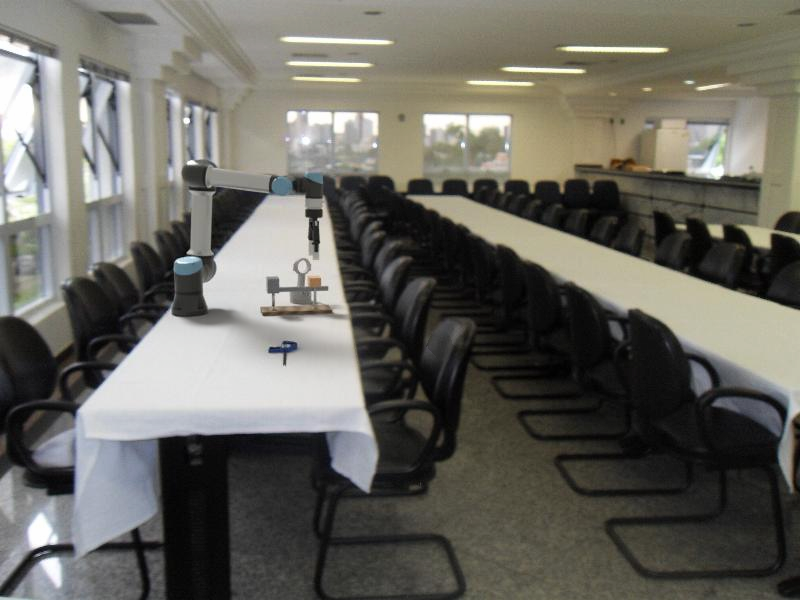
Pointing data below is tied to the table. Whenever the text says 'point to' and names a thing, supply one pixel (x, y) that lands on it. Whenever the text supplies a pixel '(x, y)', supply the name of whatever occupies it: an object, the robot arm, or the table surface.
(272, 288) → the grey piece
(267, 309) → the hole plate
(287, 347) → the bar clamp
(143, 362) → the table surface
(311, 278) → the block
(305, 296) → the engine component
